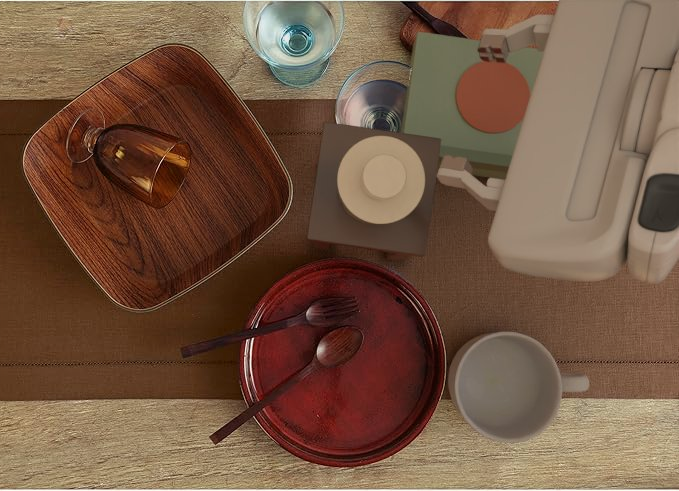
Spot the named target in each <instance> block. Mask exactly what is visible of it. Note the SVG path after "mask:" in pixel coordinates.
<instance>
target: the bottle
mask: <svg viewBox="0 0 679 491" xmlns="http://www.w3.org/2000/svg"><path fill="white" fill-rule="evenodd" d="M337 185H338V195H339V199H340V202H341V204H342V206H343V208H344V209H345V211H346V212H347V213H348V214H349V215H350V216H351V217H353V218H354V219H356V220H358V221H360V222H362V223H366V224H388V223H393V222H396V221H398V220H400V219H402V218H404V217H406V216H407V215H408V214H410V213H411V212H412V211H413V210H414V209H415V207H416V206H417V205H418V203H419V202H420V200H421V198H422V195H423V192H424V187H425V172H424V168H423V165H422V162H421V160H420V158H419V156H418V155H417V153H416V152H415V151H414V150H413V149H412V148H411V147H410V146H409V145H408V144H406V143H405V142H403V141H401V140H399V139H396V138H393V137H389V136H374V137H369V138H366V139H364V140H362V141H360V142H358V143H357V144H355V145H354V146H353V147H352V148H350V149H349V151H348V152H347V153H346V154H345V156H344V157H343V159H342V161H341V163H340V166H339V169H338V175H337Z"/></svg>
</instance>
